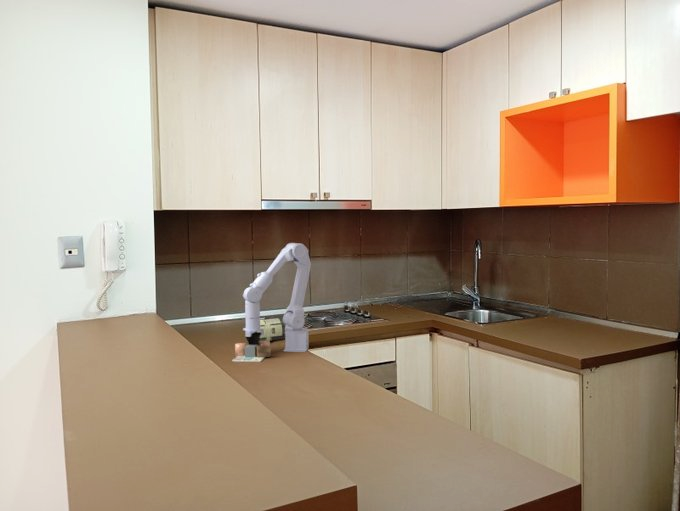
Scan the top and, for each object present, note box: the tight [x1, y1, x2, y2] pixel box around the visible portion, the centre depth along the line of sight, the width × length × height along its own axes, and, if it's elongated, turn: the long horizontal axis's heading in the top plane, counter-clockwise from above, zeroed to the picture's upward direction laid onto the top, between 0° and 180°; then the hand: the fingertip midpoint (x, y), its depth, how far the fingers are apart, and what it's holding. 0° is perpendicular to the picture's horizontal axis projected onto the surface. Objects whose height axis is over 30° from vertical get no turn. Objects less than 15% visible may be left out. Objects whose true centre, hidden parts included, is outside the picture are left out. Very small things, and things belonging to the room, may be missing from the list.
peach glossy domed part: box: [234, 342, 247, 357], centre depth 213 cm, size 4×4×4 cm
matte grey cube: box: [245, 344, 257, 357], centre depth 212 cm, size 4×4×4 cm
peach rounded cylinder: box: [258, 341, 271, 346], centre depth 216 cm, size 4×4×4 cm
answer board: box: [231, 356, 266, 363], centre depth 212 cm, size 11×14×1 cm
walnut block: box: [256, 344, 272, 358], centre depth 211 cm, size 5×3×4 cm, turn 113°
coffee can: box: [257, 317, 285, 344], centre depth 239 cm, size 10×10×14 cm
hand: (253, 351), depth 215 cm, fingers closed
